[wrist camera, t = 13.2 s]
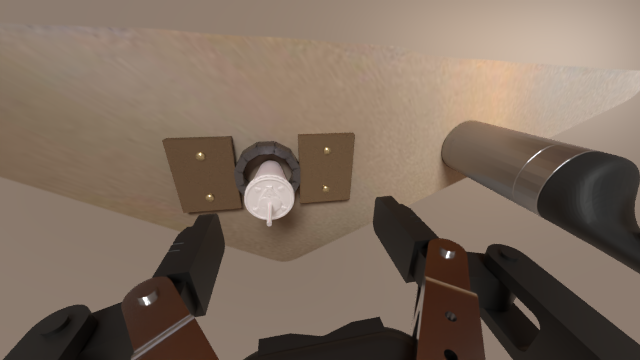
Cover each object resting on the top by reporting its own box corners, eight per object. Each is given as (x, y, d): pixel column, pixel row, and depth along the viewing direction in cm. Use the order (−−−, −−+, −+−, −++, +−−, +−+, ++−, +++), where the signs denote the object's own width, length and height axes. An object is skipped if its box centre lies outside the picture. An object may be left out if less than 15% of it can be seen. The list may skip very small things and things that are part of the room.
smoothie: (252, 188, 38) (241, 244, 26) (249, 152, 35) (235, 196, 23) (290, 187, 39) (297, 240, 27) (290, 151, 37) (298, 193, 24)
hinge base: (352, 132, 37) (357, 136, 35) (347, 196, 42) (351, 202, 40) (165, 138, 32) (157, 143, 30) (186, 208, 38) (180, 217, 35)
